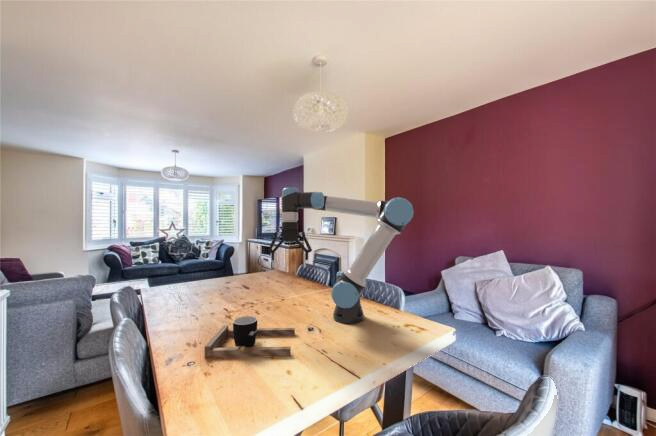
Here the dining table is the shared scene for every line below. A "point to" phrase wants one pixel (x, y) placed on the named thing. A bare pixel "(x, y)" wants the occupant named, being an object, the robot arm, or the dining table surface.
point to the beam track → (243, 351)
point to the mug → (245, 331)
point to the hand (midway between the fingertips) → (290, 267)
